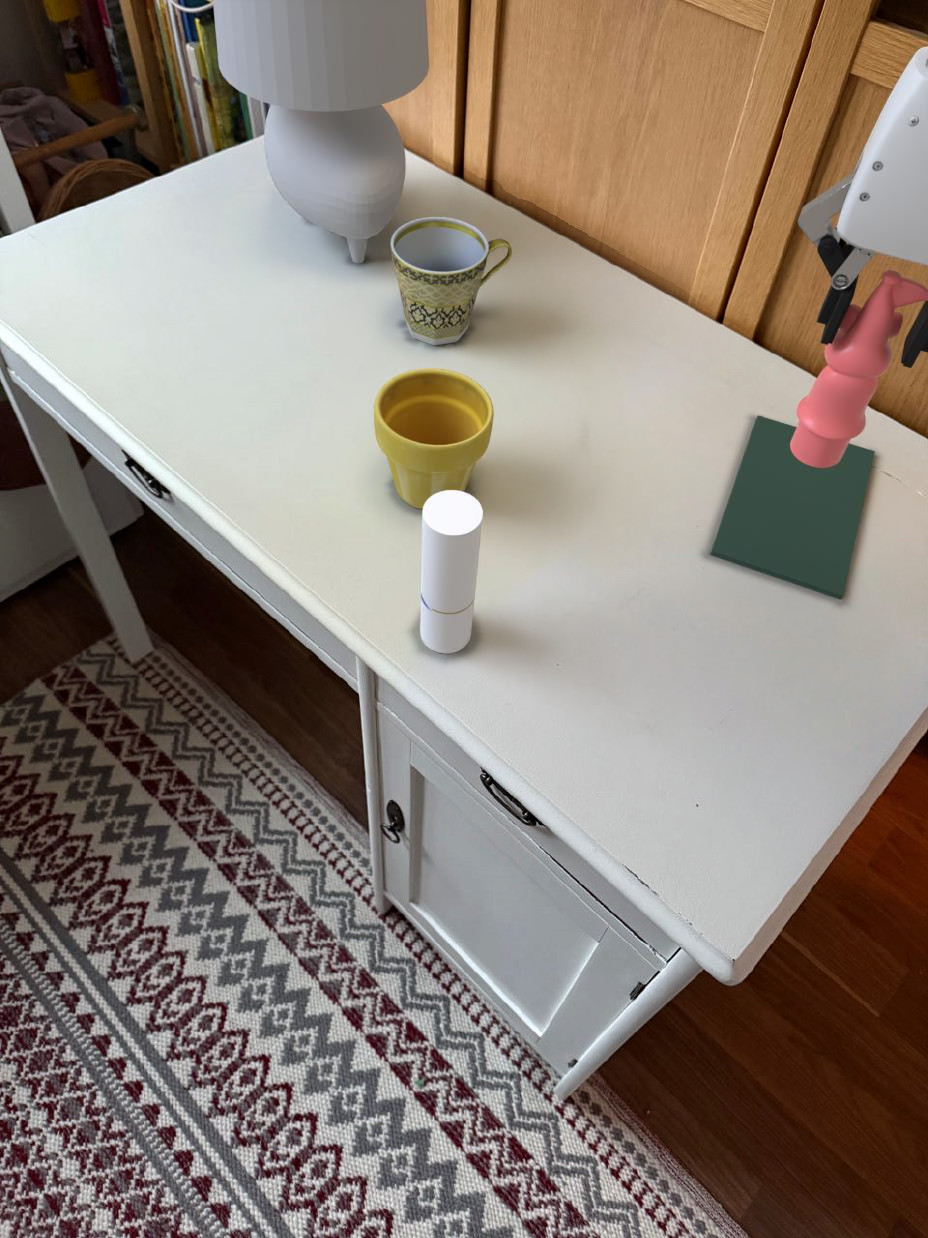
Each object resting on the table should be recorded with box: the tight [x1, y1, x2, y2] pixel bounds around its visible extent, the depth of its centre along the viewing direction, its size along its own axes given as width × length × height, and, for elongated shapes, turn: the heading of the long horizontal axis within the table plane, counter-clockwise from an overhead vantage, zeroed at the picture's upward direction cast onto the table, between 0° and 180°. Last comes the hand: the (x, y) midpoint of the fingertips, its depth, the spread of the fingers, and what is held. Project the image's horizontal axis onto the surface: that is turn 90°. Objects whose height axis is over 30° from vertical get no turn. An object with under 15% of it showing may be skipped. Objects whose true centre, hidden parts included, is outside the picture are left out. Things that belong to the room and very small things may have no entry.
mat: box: [709, 415, 876, 600], centre depth 87 cm, size 12×20×1 cm, turn 157°
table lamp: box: [212, 0, 430, 264], centre depth 93 cm, size 23×22×40 cm
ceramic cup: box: [389, 216, 513, 347], centre depth 96 cm, size 13×10×10 cm
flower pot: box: [373, 367, 495, 510], centre depth 82 cm, size 10×10×10 cm
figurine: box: [790, 269, 928, 468], centre depth 63 cm, size 5×5×15 cm
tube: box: [419, 490, 484, 654], centre depth 70 cm, size 4×4×15 cm
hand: (868, 341), depth 61 cm, fingers closed on figurine, 4 cm apart
